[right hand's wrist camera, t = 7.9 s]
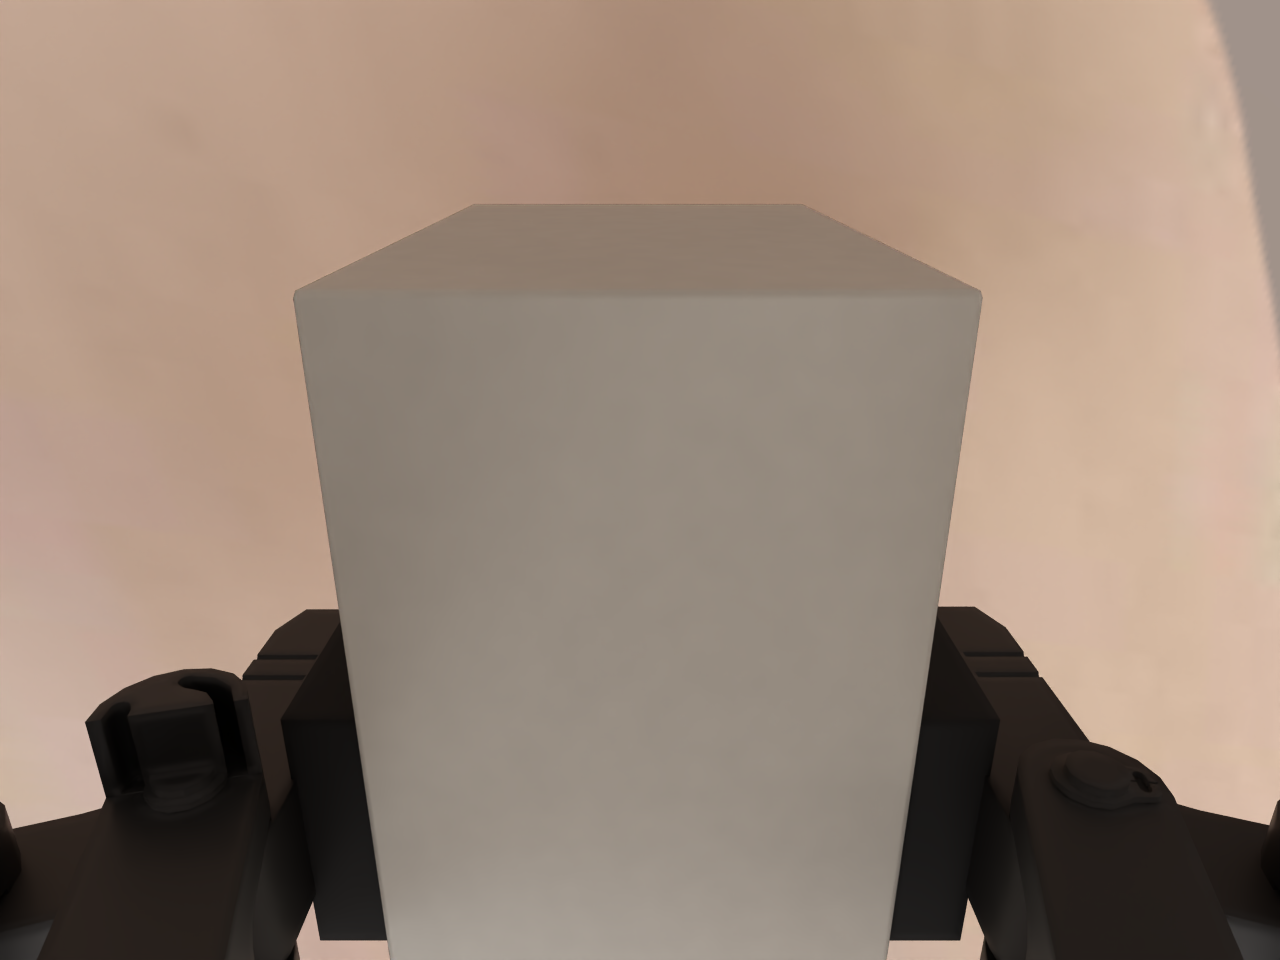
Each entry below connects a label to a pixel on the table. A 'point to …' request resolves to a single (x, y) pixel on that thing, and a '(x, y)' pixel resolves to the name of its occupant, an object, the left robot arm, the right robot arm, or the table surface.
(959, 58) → the table surface
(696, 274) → the beam
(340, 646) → the right robot arm
